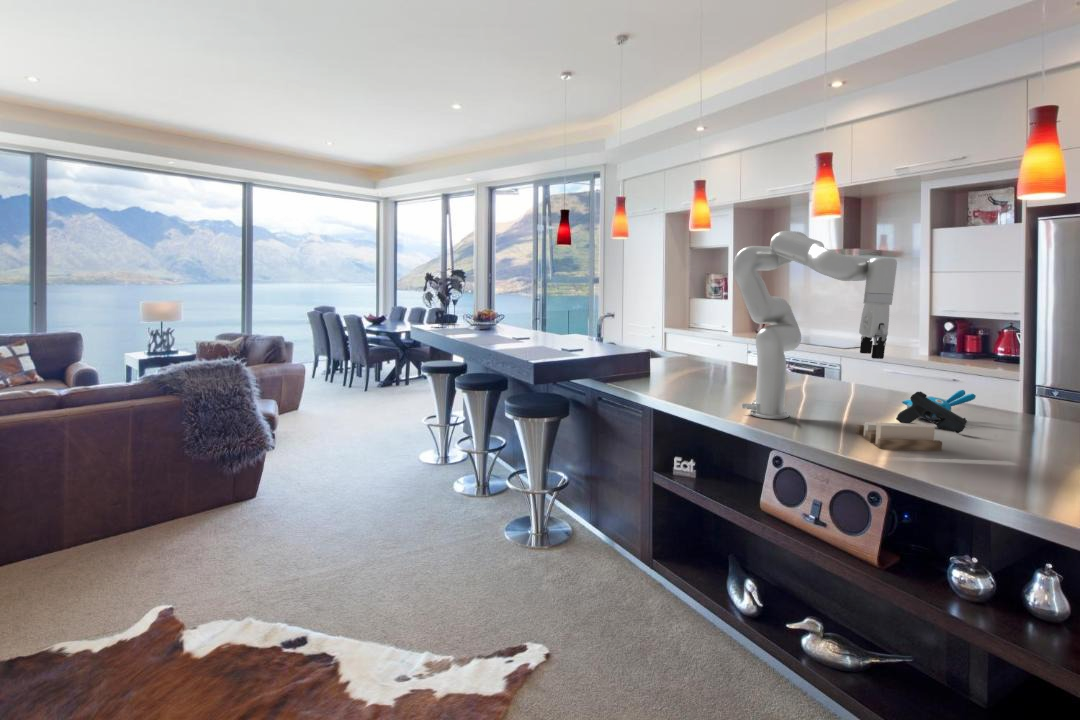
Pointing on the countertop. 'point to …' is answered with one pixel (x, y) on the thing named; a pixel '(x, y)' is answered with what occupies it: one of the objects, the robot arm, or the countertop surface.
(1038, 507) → the countertop surface
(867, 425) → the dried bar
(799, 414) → the countertop surface
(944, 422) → the handgun
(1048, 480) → the countertop surface
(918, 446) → the rack
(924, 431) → the clay bar
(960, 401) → the toy
